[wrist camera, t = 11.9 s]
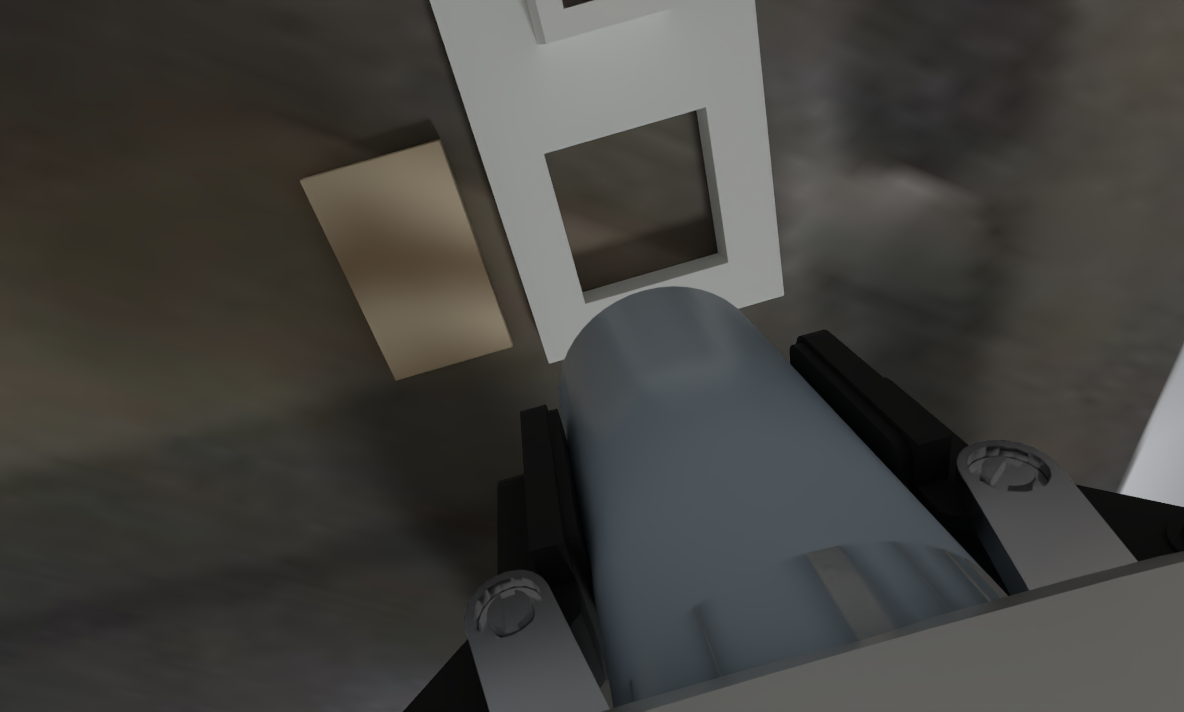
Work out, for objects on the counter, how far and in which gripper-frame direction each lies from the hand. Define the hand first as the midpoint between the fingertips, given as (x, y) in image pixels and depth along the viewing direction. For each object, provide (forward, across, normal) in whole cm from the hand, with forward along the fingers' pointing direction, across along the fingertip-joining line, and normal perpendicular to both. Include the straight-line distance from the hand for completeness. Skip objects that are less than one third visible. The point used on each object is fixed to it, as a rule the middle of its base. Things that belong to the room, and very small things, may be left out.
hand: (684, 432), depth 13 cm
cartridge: (+2, 0, 0) cm, 2 cm away
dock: (+17, -2, -5) cm, 18 cm away
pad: (+17, +8, 0) cm, 19 cm away
